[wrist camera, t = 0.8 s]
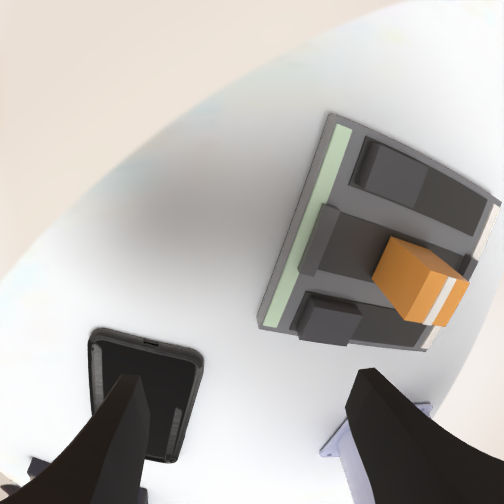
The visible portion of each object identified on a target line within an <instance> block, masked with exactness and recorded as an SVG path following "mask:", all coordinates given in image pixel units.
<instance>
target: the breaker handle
mask: <svg viewBox="0 0 504 504" xmlns="http://www.w3.org/2000/svg"><path fill="white" fill-rule="evenodd" d="M371 279H372V280H373V281H374V282H375V284H376V285H377V286H378V287H379V289H380V290H381V291H382V292H383V294H384V295H385V296H386V297H387V299H388V300H389V301H390V303H391V304H392V305H393V306H394V308H395V309H396V310H397V312H398V313H399V314H400V315H401V317H402V318H403V319H404V320H406V321H412V322H418V323H422V324H423V325H429V326H431V325H436V326H442V327H445V326H446V325H447V323H448V321H449V320H450V318H451V316H452V315H453V313H454V311H455V309H456V308H457V306H458V304H459V302H460V300H461V299H462V297H463V295H464V293H465V291H466V289H467V288H468V286H469V284H470V283H469V282H468V281H467V280H466V279H465V278H463V277H462V276H461V275H460V274H459V273H458V272H456V271H455V270H454V269H453V268H452V267H450V266H449V265H448V264H447V263H446V262H444V261H443V260H442V259H441V258H439V257H438V256H437V255H436V254H434V253H433V252H432V251H431V250H429V249H426V248H424V247H421V246H418V245H415V244H412V243H409V242H407V241H404V240H401V239H398V238H395V237H392V236H391V237H390V239H389V241H388V244H387V246H386V248H385V250H384V253H383V255H382V257H381V259H380V261H379V264H378V266H377V268H376V270H375V272H374V274H373V276H372V278H371Z"/></svg>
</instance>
